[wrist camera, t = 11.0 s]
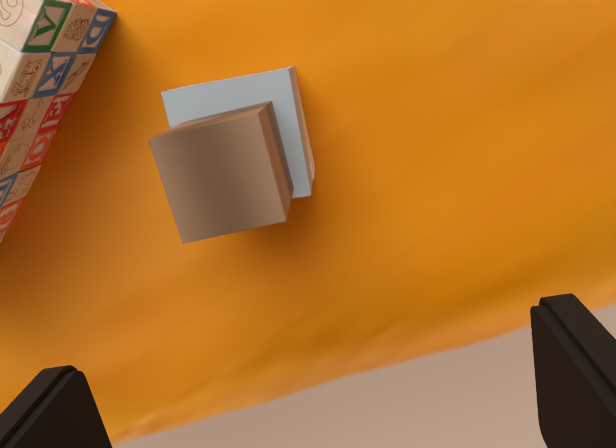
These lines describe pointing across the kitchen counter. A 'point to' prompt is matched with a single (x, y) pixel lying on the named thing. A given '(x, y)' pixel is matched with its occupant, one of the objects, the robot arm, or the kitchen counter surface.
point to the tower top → (246, 93)
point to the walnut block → (225, 172)
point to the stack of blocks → (40, 82)
